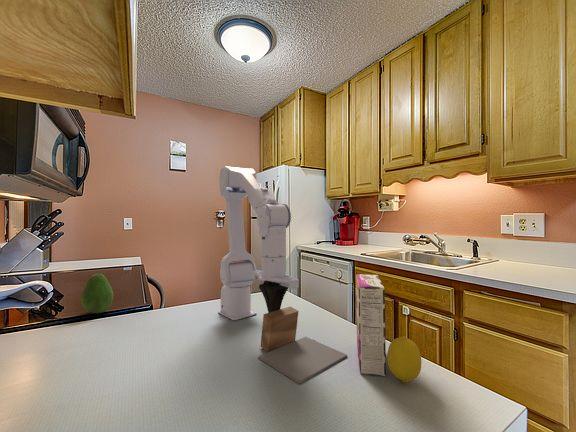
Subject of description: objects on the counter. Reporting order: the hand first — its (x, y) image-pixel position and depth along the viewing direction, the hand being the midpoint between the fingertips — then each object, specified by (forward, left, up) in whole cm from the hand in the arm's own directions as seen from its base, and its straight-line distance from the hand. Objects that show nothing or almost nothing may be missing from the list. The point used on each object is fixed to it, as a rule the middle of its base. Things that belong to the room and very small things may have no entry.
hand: (274, 314), depth 64 cm
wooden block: (+1, 0, -6) cm, 6 cm away
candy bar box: (+19, +9, -7) cm, 22 cm away
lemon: (+27, +7, -7) cm, 29 cm away
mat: (+9, 0, -6) cm, 11 cm away
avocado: (-52, -27, -7) cm, 59 cm away
